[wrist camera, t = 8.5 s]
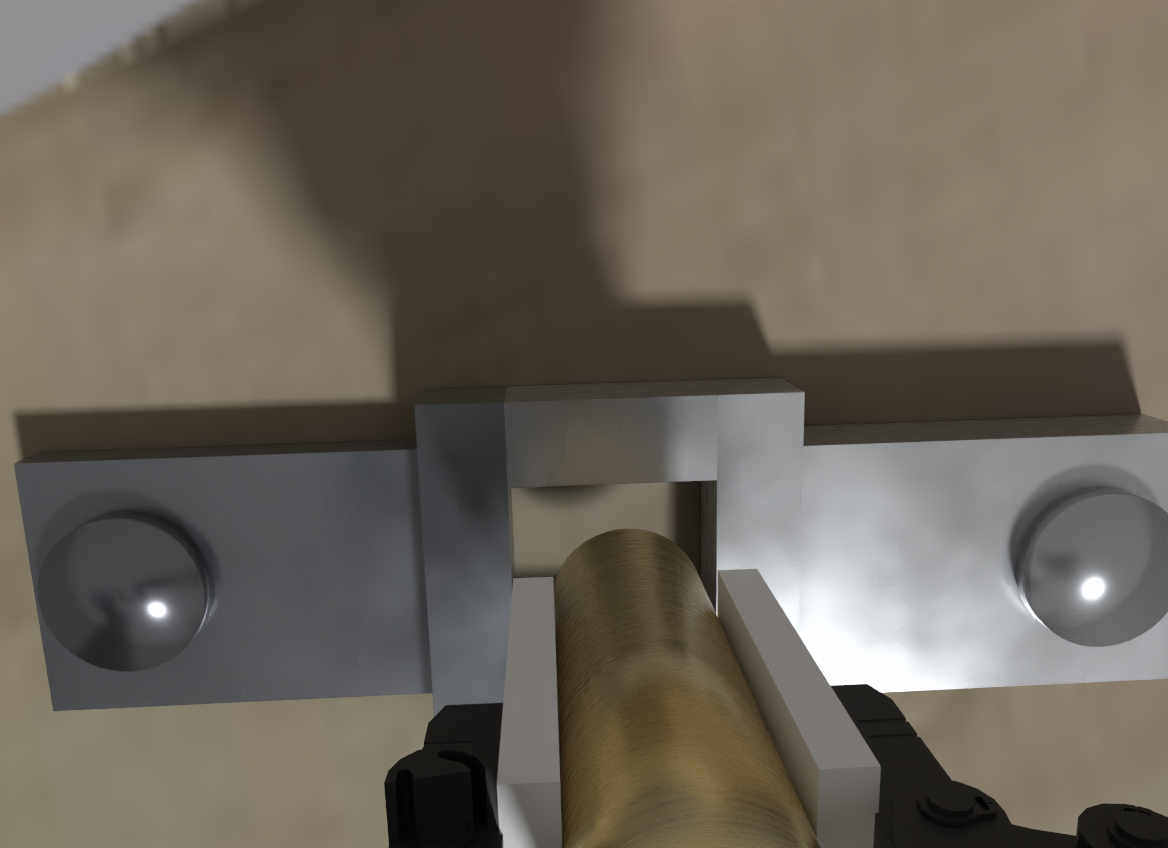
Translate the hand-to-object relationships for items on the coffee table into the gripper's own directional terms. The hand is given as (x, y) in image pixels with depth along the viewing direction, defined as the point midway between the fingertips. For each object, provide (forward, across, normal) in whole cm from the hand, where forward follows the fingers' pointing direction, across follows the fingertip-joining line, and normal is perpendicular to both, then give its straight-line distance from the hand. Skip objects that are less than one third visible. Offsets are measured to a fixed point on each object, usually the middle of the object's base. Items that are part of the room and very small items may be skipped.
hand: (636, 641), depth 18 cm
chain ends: (+5, 0, 0) cm, 5 cm away
